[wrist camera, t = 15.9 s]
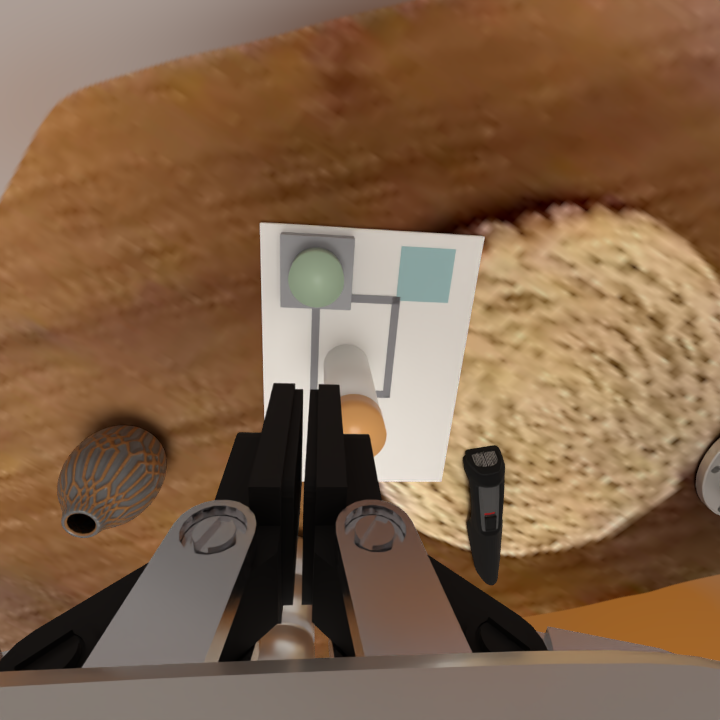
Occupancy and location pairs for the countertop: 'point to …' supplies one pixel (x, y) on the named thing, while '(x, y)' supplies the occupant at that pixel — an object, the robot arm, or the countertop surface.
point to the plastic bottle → (291, 626)
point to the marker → (356, 393)
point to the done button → (316, 277)
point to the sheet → (383, 335)
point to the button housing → (301, 241)
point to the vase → (110, 479)
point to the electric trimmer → (485, 508)
